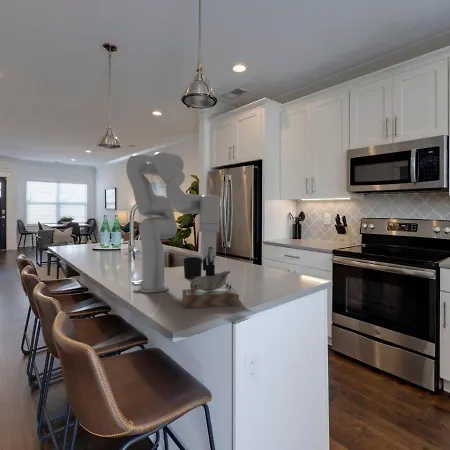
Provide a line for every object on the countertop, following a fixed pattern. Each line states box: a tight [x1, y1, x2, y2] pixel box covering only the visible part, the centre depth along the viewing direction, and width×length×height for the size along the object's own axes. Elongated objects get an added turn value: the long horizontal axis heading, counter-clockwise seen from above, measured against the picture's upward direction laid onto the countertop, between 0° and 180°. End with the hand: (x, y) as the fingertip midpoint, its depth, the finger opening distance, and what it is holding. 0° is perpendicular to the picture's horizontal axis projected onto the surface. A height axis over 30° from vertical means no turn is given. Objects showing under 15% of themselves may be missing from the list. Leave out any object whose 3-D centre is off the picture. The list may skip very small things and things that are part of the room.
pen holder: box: [183, 256, 203, 280], centre depth 163 cm, size 9×9×10 cm
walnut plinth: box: [182, 286, 240, 309], centre depth 118 cm, size 20×11×4 cm, turn 100°
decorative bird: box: [190, 269, 233, 293], centre depth 118 cm, size 5×16×8 cm, turn 111°
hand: (208, 272), depth 118 cm, fingers open, 9 cm apart
